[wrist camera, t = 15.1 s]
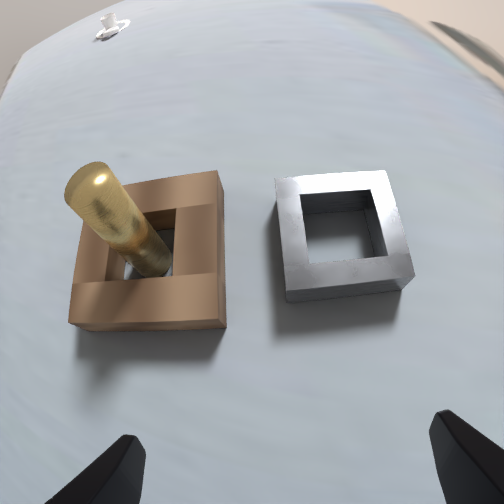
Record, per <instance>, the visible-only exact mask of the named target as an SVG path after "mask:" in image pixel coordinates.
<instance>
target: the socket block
mask: <svg viewBox="0 0 504 504" xmlns="http://www.w3.org/2000/svg"><path fill="white" fill-rule="evenodd" d="M274 179H275V190H276V201H277V210H278V219H279V229H280V238H281V248H282V258H283V268H284V278H285V289H286V300H287V303H293V302H303V301H313V300H323V299H332V298H341V297H349V296H357V295H366V294H373V293H381V292H389V291H396V290H402V289H403V288H404V287H405V286H406V285H407V284H408V283H409V282H410V281H411V280H412V279H413V278H414V277H415V273H414V269H413V265H412V260H411V256H410V252H409V248H408V245H407V241H406V237H405V234H404V230H403V226H402V223H401V219H400V216H399V213H398V209H397V206H396V203H395V200H394V197H393V193H392V190H391V187H390V184H389V181H388V178H387V175H386V173H385V171H370V172H351V173H335V174H321V175H308V176H296V177H285V178H274ZM352 210H364V212H365V216H366V220H367V224H368V228H369V233H370V237H371V241H372V246H373V250H374V255H375V257H372V258H362V259H353V260H343V261H333V262H323V263H313V264H309V257H308V250H307V243H306V236H305V229H304V222H303V215H304V214H316V213H327V212H339V211H352Z"/></svg>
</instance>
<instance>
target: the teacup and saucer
mask: <svg viewBox="0 0 504 504" xmlns="http://www.w3.org/2000/svg"><path fill="white" fill-rule="evenodd" d="M100 20H101V22H102V24H103V26H104V27H105V28H104V29H102V30H101V31H100V32H99V33H98V34H97V35H96V38H98V39H101V38H105V37H108V36H111V35H113V34H115V33H117V32H119V31H121V30H123V29H124V28H125V27H127V26H128V25H129V24H130V20H121V21H118V22H117V20H116V17H115V14H114V13H109V14H107V15H105V16H103V17H102V18H101V19H100ZM118 23H126V24H125V26H124V27H123V28H121V29H120V30H119V27H118V26H117V24H118ZM105 29H106V31H104V30H105ZM103 31H104V32H103ZM102 32H103V34H102V35H103V36H101V33H102Z"/></svg>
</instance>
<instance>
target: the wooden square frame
mask: <svg viewBox="0 0 504 504" xmlns="http://www.w3.org/2000/svg"><path fill="white" fill-rule="evenodd" d="M123 188H124V189H125V191H126V192H127V193H128V195H129V196H130V198H131V199H132V200H133V202H134V203H135V204H136V206H137V207H138V208H139V210H140V211H141V212H142V214H143V215H144V217H145V218H146V219H147V221H148V222H149V223H150V225H151V226H152V227H153V229H154V230H155V231H156V230H164V229H172V228H175V236H174V254H173V275H172V276H168V277H156V278H143V279H130V280H124V270H125V259H124V258H122V257H121V256H120V255H119V254H118V253H117V252H116V251H115V250H114V249H113V248H112V247H111V246H110V245H108V244H107V243H106V242H105V241H104V240H103V239H102V238H101V237H100V236H99V235H98V234H97V233H96V232H95V231H94V230H93V229H92V228H91V227H90V226H89V225H88V224H87V223H86V222H85V221H83V226H82V231H81V236H80V241H79V247H78V252H77V258H76V264H75V270H74V277H73V284H72V292H71V300H70V309H69V318H68V323H70V324H73V325H75V326H77V327H80V328H82V329H85V330H87V331H167V330H194V329H214V328H227V323H226V290H225V246H224V190H223V187H222V184H221V181H220V178H219V175H218V172H217V170H215V171H208V172H201V173H194V174H187V175H181V176H174V177H168V178H162V179H156V180H150V181H145V182H139V183H134V184H128V185H123Z"/></svg>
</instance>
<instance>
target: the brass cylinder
mask: <svg viewBox="0 0 504 504" xmlns="http://www.w3.org/2000/svg"><path fill="white" fill-rule="evenodd" d="M64 198H65V201H66V203H67V204H68V205H69V206H70V207H71V208H72V209H73V210H74V211H75V212H76V213H77V214H78V215H79V216H80V217H81V218H82V219H83V220H84V221H85V222H86V223H87V224H88V225H89V226H90V227H91V228H92V229H93V230H94V231H95V232H96V233H97V234H98V235H99V236H100V237H101V238H102V239H103V240H104V241H105V242H106V243H107V244H108V245H110V246H111V247H112V248H113V249H114V250H115V251H116V252H117V253H118V254H119V255H120V256H121V257H122V258H124V259H125V260H126V261H127V262H128V263H129V264H130V265H131V266H132V267H133V268H135V269H136V270H137V271H138V272H139V273H140V274H141V275H142V276H144V277H146V278H156V277H160V276H162V275H163V274H165V273H166V272H167V270H168V269H169V267H170V265H171V262H172V254H171V251H170V250H169V248H168V247H167V246H166V244H165V243H164V242H163V240H162V239H161V238H160V236H159V235H158V234H157V232H156V231H155V230H154V229H153V227H152V226H151V225H150V223H149V222H148V221H147V219H146V218H145V217H144V215H143V214H142V212H141V211H140V210H139V208H138V207H137V206H136V204H135V203H134V202H133V200H132V199H131V198H130V196H129V195H128V193H127V192H126V191H125V189H124V188H123V186H122V185H121V184H120V182H119V181H118V179H117V178H116V177H115V175H114V174H113V172H112V171H111V170H110V168H109V167H108V165H107V164H105V163H103V162H92V163H89V164H87V165H85V166H83V167H82V168H80V169H79V170H78V171H77V172H76V173H75V174H74V175H73V176H72V177H71V179H70V180H69V182H68V183H67V186H66V188H65V193H64Z"/></svg>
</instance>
